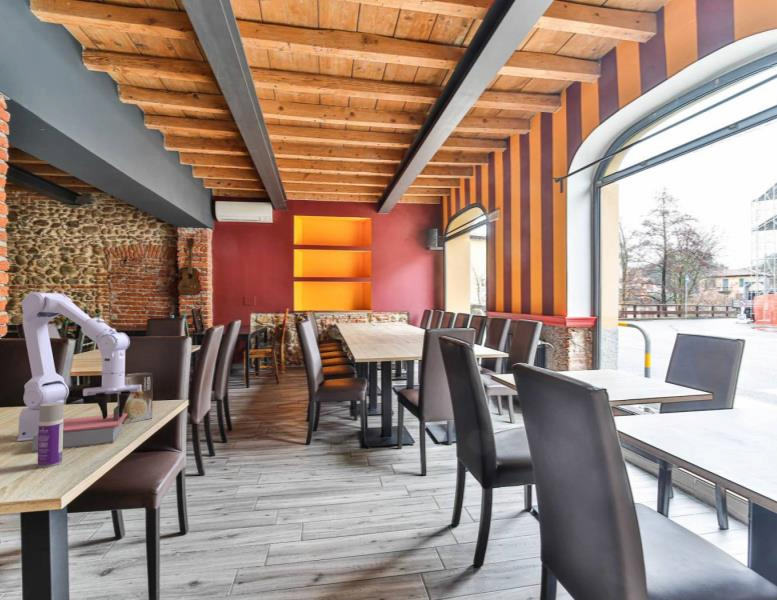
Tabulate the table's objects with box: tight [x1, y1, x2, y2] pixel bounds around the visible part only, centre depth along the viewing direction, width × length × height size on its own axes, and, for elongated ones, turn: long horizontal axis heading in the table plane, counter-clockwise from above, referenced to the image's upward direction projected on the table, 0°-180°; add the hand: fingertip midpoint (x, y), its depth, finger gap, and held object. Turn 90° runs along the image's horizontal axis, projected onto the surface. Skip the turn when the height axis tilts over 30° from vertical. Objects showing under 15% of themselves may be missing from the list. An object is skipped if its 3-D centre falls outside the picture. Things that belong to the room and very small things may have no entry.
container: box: [37, 402, 64, 468], centre depth 98 cm, size 5×5×15 cm
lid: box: [63, 405, 127, 432], centre depth 116 cm, size 18×14×4 cm
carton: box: [32, 422, 123, 453], centre depth 115 cm, size 18×14×4 cm
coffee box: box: [117, 371, 154, 425], centre depth 137 cm, size 9×6×16 cm
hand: (112, 417), depth 119 cm, fingers open, 3 cm apart
